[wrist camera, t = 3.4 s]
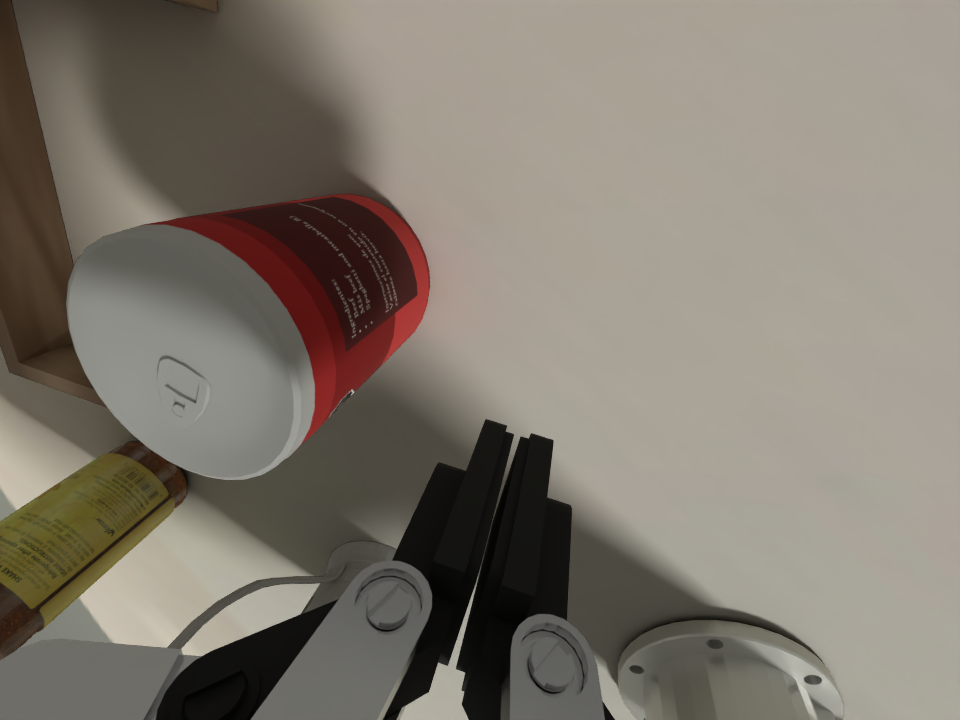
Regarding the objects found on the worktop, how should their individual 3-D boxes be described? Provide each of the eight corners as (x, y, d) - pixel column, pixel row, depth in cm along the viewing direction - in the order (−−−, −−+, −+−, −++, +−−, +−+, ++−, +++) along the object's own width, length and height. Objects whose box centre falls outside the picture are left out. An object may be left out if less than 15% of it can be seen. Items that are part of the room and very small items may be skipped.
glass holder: (364, 627, 35) (226, 911, 22) (266, 493, 31) (23, 746, 18) (457, 620, 32) (361, 948, 19) (362, 469, 28) (150, 757, 14)
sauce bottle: (111, 428, 32) (-471, 760, 15) (183, 446, 31) (-352, 827, 13) (136, 495, 35) (-323, 838, 17) (203, 513, 34) (-217, 899, 16)
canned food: (294, 326, 24) (94, 441, 15) (294, 173, 20) (25, 192, 11) (423, 365, 23) (300, 515, 14) (447, 213, 20) (303, 272, 10)
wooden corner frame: (216, -18, 18) (122, -60, 14) (240, 400, 28) (188, 436, 24) (-24, -71, 19) (-164, -122, 16) (80, 345, 29) (9, 372, 25)
